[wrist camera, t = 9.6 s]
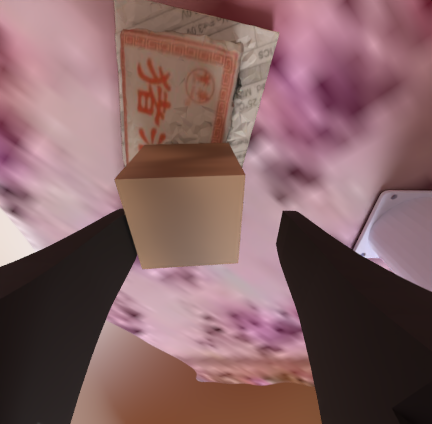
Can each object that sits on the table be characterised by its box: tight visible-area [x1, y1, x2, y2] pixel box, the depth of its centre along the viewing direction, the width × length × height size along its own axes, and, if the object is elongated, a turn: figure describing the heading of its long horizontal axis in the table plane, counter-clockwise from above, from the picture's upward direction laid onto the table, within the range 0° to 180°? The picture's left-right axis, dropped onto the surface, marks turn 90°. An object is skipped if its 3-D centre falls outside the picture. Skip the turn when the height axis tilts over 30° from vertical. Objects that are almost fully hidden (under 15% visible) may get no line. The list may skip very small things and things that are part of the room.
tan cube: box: [114, 143, 245, 269], centre depth 11 cm, size 5×5×5 cm
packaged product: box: [114, 0, 279, 168], centre depth 15 cm, size 18×5×10 cm
